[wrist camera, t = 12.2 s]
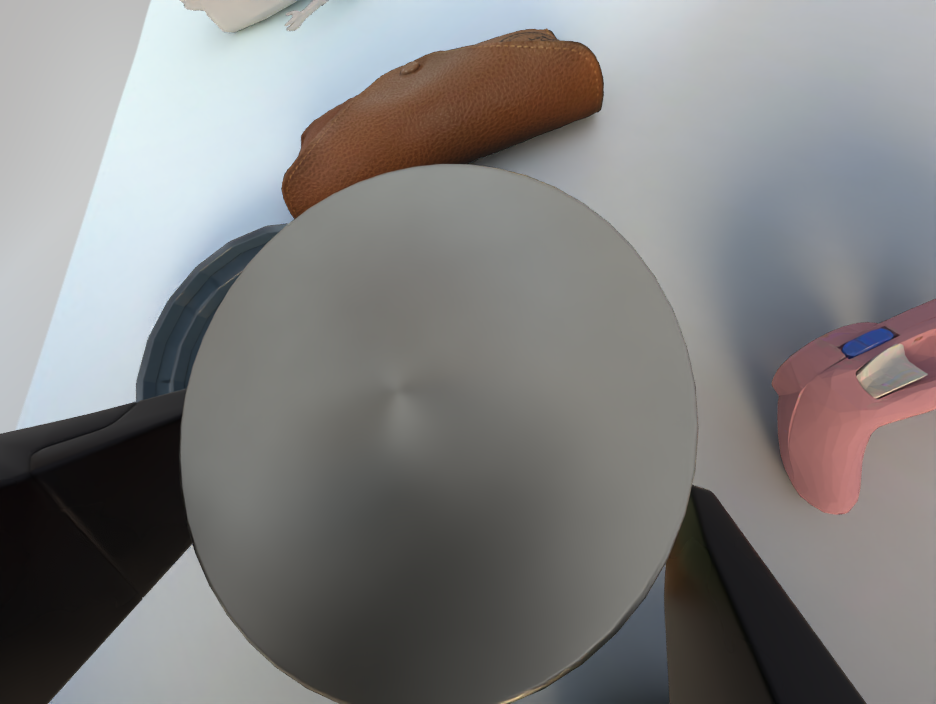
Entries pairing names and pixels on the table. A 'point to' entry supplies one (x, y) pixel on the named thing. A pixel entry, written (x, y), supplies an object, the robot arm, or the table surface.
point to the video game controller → (851, 400)
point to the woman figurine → (249, 12)
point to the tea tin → (438, 439)
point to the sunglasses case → (446, 112)
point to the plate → (193, 315)
